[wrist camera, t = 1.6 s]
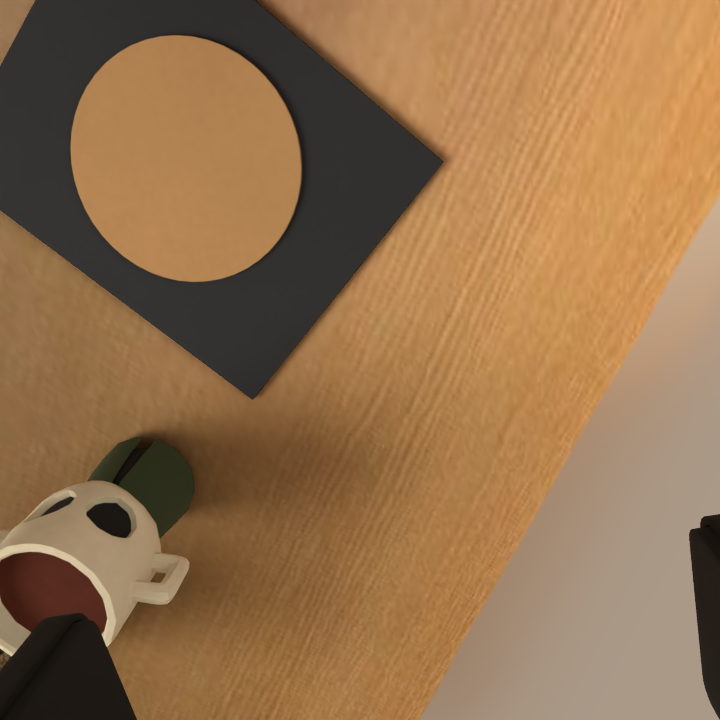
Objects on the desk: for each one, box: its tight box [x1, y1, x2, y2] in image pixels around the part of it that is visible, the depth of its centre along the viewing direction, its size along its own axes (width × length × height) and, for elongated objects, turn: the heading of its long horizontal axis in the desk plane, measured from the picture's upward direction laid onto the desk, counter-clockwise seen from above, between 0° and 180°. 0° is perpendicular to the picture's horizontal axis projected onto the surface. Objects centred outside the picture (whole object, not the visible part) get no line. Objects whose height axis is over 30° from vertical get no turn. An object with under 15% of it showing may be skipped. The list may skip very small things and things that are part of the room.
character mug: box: [0, 437, 194, 657], centre depth 35 cm, size 11×7×13 cm, turn 83°
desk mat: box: [0, 0, 443, 400], centre depth 35 cm, size 22×18×1 cm
